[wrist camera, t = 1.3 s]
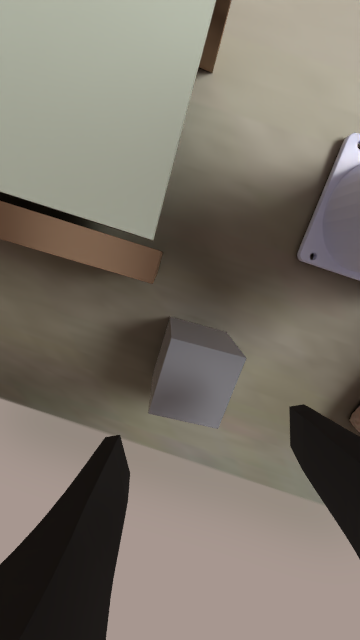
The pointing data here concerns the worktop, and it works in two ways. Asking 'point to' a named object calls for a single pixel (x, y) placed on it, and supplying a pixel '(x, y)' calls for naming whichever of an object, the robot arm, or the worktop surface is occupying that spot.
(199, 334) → the grey cube
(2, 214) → the frame
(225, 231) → the worktop surface
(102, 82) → the trapdoor
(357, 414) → the brick
